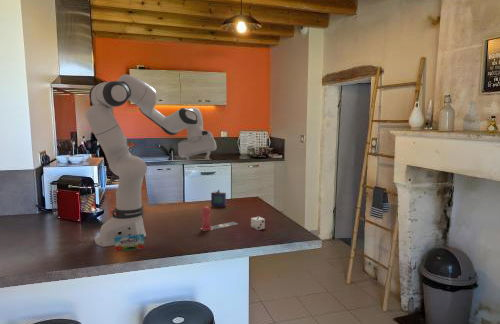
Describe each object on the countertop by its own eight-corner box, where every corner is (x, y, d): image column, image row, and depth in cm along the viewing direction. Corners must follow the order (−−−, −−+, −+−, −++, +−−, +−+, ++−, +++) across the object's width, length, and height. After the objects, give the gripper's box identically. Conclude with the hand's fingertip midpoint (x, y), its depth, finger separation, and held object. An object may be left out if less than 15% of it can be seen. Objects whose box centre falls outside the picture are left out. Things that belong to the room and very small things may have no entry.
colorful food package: (114, 252, 148) (114, 237, 147) (115, 250, 149) (114, 236, 148) (144, 248, 152) (144, 235, 151) (144, 247, 153) (144, 233, 152)
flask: (226, 206, 222) (226, 189, 221) (225, 207, 219) (225, 190, 218) (211, 205, 223) (211, 189, 221) (210, 207, 220) (210, 190, 218)
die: (256, 230, 176) (256, 220, 175) (250, 227, 180) (250, 217, 179) (264, 228, 179) (264, 218, 178) (258, 225, 183) (258, 216, 182)
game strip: (206, 235, 168) (206, 233, 168) (194, 228, 178) (194, 227, 178) (244, 227, 181) (244, 225, 181) (231, 221, 190) (231, 219, 190)
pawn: (204, 231, 172) (204, 208, 170) (200, 228, 175) (199, 206, 174) (212, 229, 174) (212, 206, 173) (208, 226, 178) (208, 204, 176)
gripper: (175, 139, 184) (177, 163, 179) (212, 130, 181) (215, 155, 176) (180, 143, 190) (182, 167, 185) (216, 135, 187) (219, 159, 182)
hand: (198, 161), depth 180 cm, fingers open, 8 cm apart
